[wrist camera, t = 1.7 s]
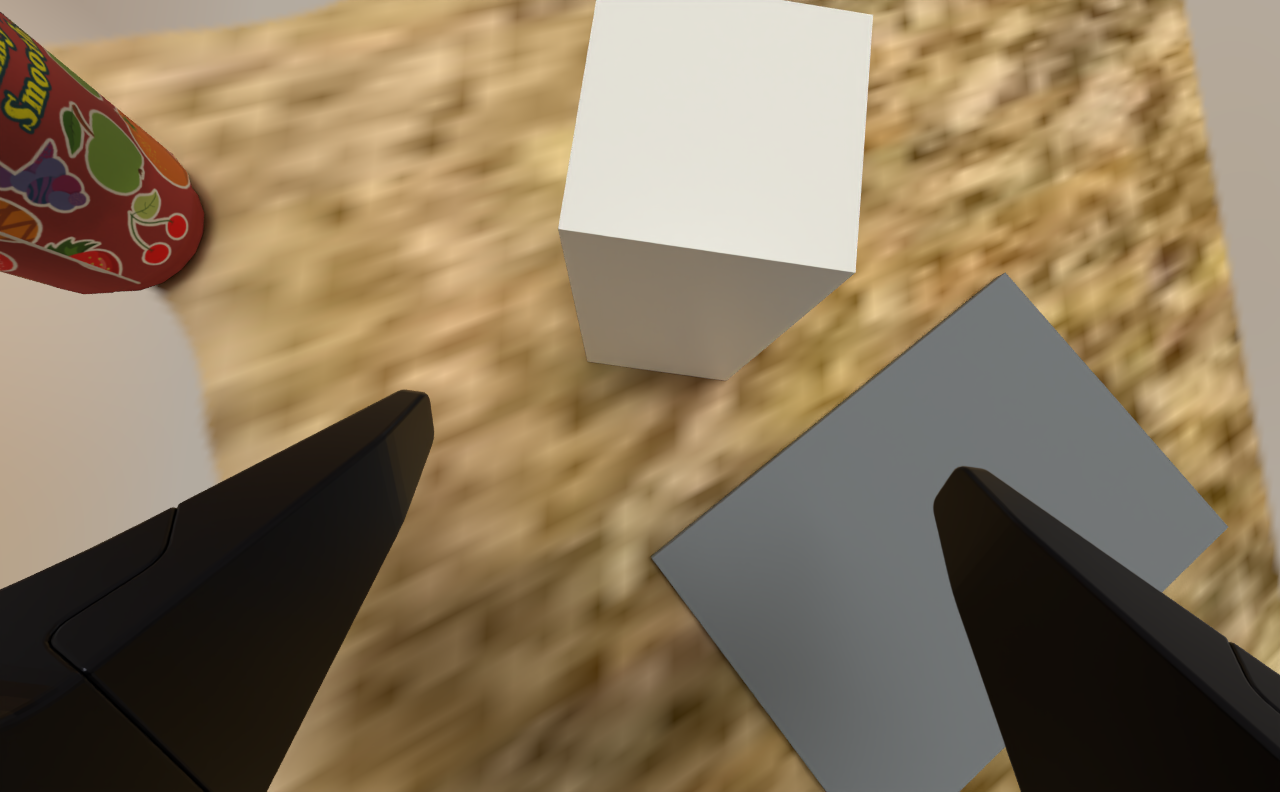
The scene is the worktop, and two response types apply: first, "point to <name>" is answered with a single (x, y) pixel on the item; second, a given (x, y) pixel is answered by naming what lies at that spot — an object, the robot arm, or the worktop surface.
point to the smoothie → (84, 183)
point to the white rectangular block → (712, 177)
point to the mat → (918, 542)
